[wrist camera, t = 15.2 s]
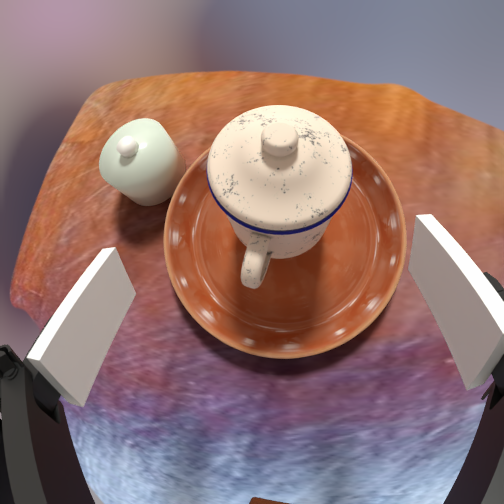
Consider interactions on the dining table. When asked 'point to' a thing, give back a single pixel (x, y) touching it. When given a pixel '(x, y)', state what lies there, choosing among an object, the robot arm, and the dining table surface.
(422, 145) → the dining table surface
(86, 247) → the dining table surface
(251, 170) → the teacup with lid
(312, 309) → the saucer
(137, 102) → the dining table surface
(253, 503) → the smartphone
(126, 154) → the sugar bowl
